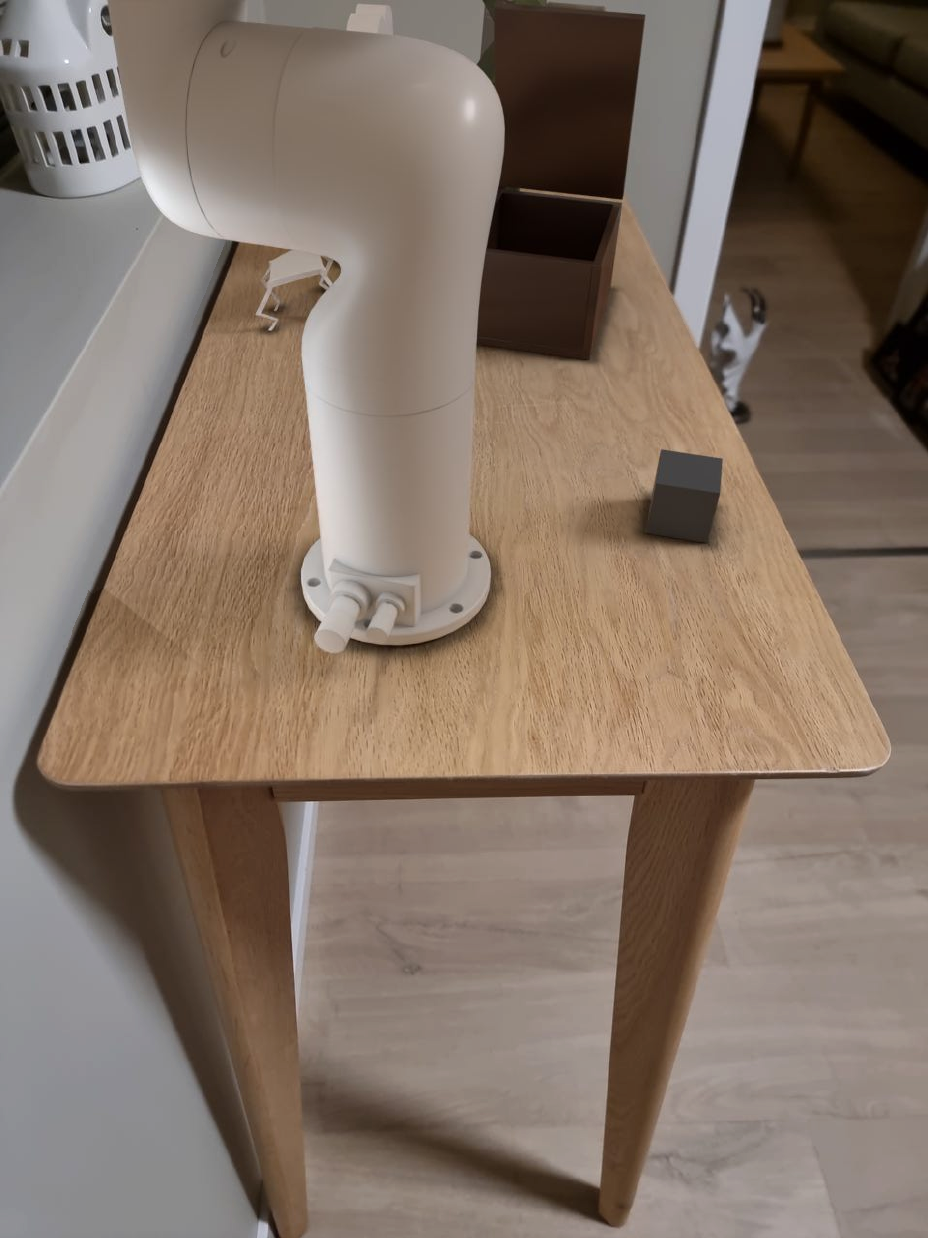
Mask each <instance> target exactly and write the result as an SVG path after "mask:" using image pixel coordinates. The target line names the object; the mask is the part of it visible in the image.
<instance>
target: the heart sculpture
mask: <svg viewBox="0 0 928 1238" xmlns="http://www.w3.org/2000/svg"><path fill="white" fill-rule="evenodd" d="M392 11H393V10H392V7H391V5H388V4H370V3H369V4H367V3H357V4H356V7H355V13H352V12H351V13H350V14H349V17H348V20H347V23H346V29H345V30H348V31H358V32H368V33H377V34H387V35H394V21H393V12H392Z"/></svg>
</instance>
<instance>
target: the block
mask: <svg viewBox="0 0 928 1238" xmlns="http://www.w3.org/2000/svg"><path fill="white" fill-rule="evenodd" d="M723 461H724V459H723V458H721V457H715V456H708V455H702V454H695V453H688V452H682V451H676V450H669V449H664V448H663V449H660V453H659V457H658V463H657V466H656V467H657V468H656V472H655V477H654V483H653V486H652V492H651V496H650V498H651V499H650V503H649V509H648V514H647V522H646V528H645V533H646V534H650V535H656V536H662V537H667V538H673V539H680V540H686V541H691V542H697V543H698V542H699V543H703V544H708V542H709V539H710V538H709V537H710V534H711V532H712V531H711V530H712V526H713V524H714V521H715V520H714V519H715V516H716V512H717V508H718V505H719V501H720V497H721V490H722V489H721V488H722V476H723V463H724V462H723Z"/></svg>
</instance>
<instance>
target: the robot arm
mask: <svg viewBox="0 0 928 1238" xmlns="http://www.w3.org/2000/svg"><path fill="white" fill-rule="evenodd" d="M106 1H107V8H108V14H109V20H110V26H111V33H112V38H113V44H114V45H113V46H114V50H115V56H116V64H117V69H118V76H119V81H120V88H121V95H122V101H123V106H124V112H125V117H126V123H127V130H128V134H129V138H130V139H129V140H130V143H131V147H132V152H133V155H134V159H135V163H136V166H137V169H138V173H139V175H140V178H141V180H142V183H143V185H144V188H145V189H146V192H147V193H148V195H149V197H150V199H151V200H152V202H153V203H154V205H155V206H156V207H157V210H159V211H160V212H161V213H162V214H163V216H165V217H166V218H167V219H168V220H169V221H170V222H172V223H173V224H175V225H176V226H178V227H180V228H182V229H184V230H185V231H188V232H191V233H194V234H196V235H201V236H205V237H209V238H215V239H220V240H226V241H233V242H237V243H244V244H245V243H246V244H251V245H257V246H258V245H259V246H265V247H272V248H279V249H284V250H285V249H286V250H299V251H304V252H306V253H310V254H315V255H320V256H326V257H329V258H331V259H334V261H335V262H336V263H337V264H338V265H339V267H340V274H339V276H338V277H337V278H336V280H335V281H334V282H332V283H333V284H332V285H331V286H328V287H329V288H328V289H327V290H325V292H324V293H323V294H322V295H321V296H320V297H319V299H318V300H317V301H316V302H315V305H314V306H313V307H312V308H311V310H310V312H309V315H308V317H307V318H306V321H305V324H304V328H303V332H302V337H301V362H302V364H301V365H302V374H303V375H302V376H303V381H304V389H305V401H306V410H307V420H308V428H309V429H308V430H309V439H310V449H311V458H312V459H311V460H312V468H313V475H314V487H315V496H316V497H315V498H316V507H317V516H318V524H319V535H320V537H319V538H318V539H317V540H316V541H315V542H314V543H313V544H312V545H311V546H310V548H309V549H308V551H307V553H306V555H305V556H304V559H303V561H302V566H301V568H300V581H301V582H300V583H301V588H302V594H303V598H304V600H305V603H306V604H307V607H308V609H309V610H310V611H311V613H312V614H313V615H314V616H315V617H316V619H317V620H318V621H320V624H319V626H318V628H317V630H316V632H315V634H314V636H313V638H314V643H315V644H316V645H317V647H318V648H319V649H321V650H322V651H323V652H326V653H328V654H329V653H330V654H333V655H335V654H340V653H343V651H345V649H346V647H347V645H348V643H349V640H350V639H353V640H356V641H360V642H362V643H368V644H373V645H381V646H405V645H413V644H422V643H425V642H430V641H432V640H437V639H439V638H442V637H444V636H447V635H449V634H451V633H454V632H455V631H457V630H458V629H460V628H462V627H463V626H465V625H466V624H468V623H469V622H470V621H471V620H472V619H474V617H475V616H477V614H478V613H479V612H480V611H481V609H482V608H483V606H484V605H485V603H486V601H487V599H488V595H489V594H490V590H491V579H492V570H491V562H490V559H489V556H488V555H487V553H486V550H485V549H484V547H483V546H482V545H481V543H480V542H479V541H478V539H476V538H475V537H474V536H473V535H471V534H470V527H471V525H470V523H471V499H472V498H471V497H472V474H473V473H472V471H473V450H474V449H473V446H474V445H473V443H474V422H475V421H474V420H475V419H474V418H475V416H474V415H475V395H476V393H475V392H476V391H475V390H476V367H477V366H476V364H477V362H476V361H477V344H476V342H477V325H478V310H479V300H480V290H481V280H482V273H483V266H484V259H485V253H486V247H487V242H488V236H489V231H490V226H491V221H492V216H493V210H494V205H495V200H496V195H497V190H498V185H499V180H500V175H501V168H502V161H503V154H504V134H505V126H504V116H503V110H502V106H501V102H500V99H499V96H498V94H497V91H496V89H495V87H494V86H493V84H492V82H491V81H490V79H489V78H488V77H487V75H486V74H485V73H484V72H483V71H482V70H481V69H480V68H479V67H478V66H477V63H475V62H474V61H472V60H471V59H469V58H468V57H467V56H465V55H463V54H462V53H461V52H458V51H456V50H455V49H452V48H450V47H448V46H444V45H442V44H438V43H435V42H431V41H428V40H425V39H421V38H416V37H410V36H404V35H399V34H393V35H387V34H377V33H368V32H358V31H348V30H346V29H337V28H327V27H317V26H314V27H302V26H292V25H281V24H273V23H264V22H263V23H262V22H252V21H248V0H106Z"/></svg>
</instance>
